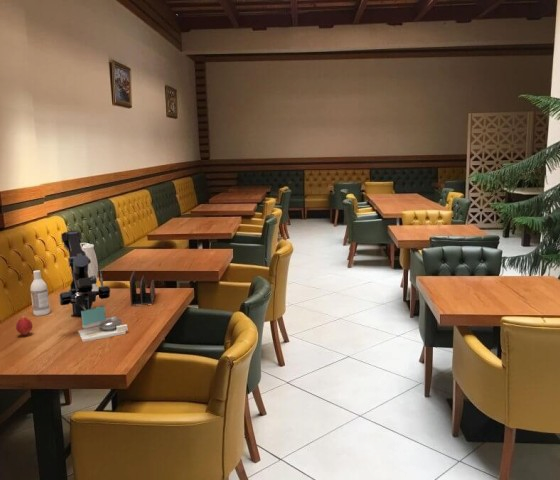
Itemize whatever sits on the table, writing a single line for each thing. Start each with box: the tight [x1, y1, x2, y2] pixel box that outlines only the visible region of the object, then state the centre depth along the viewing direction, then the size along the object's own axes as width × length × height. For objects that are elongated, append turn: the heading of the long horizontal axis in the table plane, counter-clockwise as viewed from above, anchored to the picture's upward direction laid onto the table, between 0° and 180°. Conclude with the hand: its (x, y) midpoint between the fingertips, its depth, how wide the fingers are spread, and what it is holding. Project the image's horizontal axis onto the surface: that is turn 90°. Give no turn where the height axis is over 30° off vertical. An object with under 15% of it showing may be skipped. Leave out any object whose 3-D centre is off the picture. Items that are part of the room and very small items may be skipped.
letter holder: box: [129, 270, 156, 307], centre depth 249 cm, size 10×20×14 cm, turn 10°
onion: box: [15, 315, 33, 336], centre depth 205 cm, size 6×6×8 cm
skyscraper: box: [80, 242, 104, 291], centre depth 260 cm, size 8×8×28 cm
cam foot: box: [81, 305, 123, 330], centre depth 204 cm, size 15×9×9 cm, turn 133°
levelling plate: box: [77, 324, 129, 343], centre depth 205 cm, size 17×12×3 cm
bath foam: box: [30, 269, 51, 317], centre depth 233 cm, size 7×7×20 cm
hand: (89, 313), depth 202 cm, fingers closed
